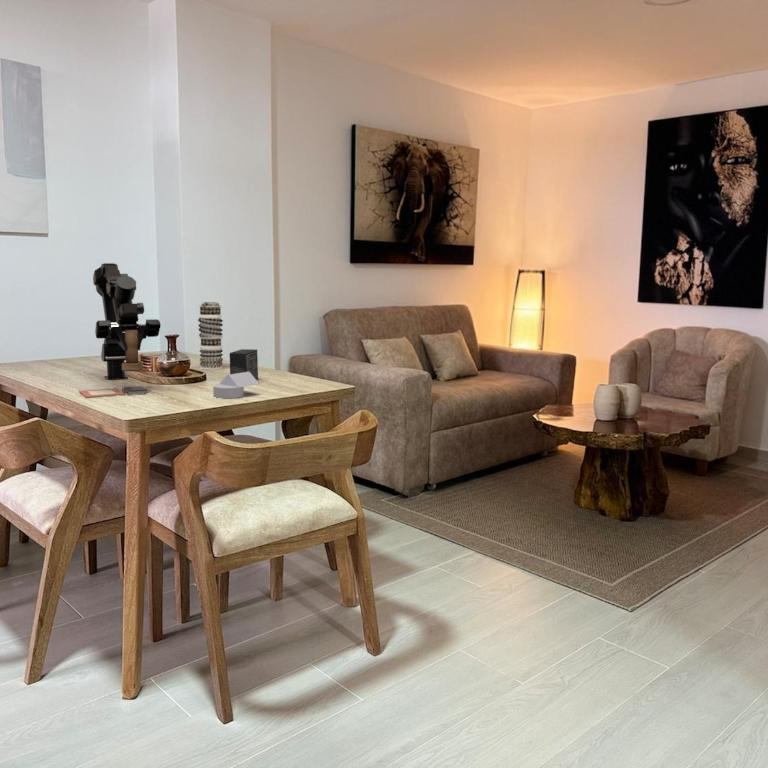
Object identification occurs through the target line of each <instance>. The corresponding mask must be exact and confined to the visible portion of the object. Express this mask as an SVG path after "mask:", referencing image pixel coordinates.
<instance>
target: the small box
mask: <svg viewBox="0 0 768 768" xmlns="http://www.w3.org/2000/svg"><path fill="white" fill-rule="evenodd" d="M258 358H259V357H258V349H253V348H251V349H246V348H245V349H244V348H243V349H242V348H241V349H238V350H235V351H232V352H229V375H230V374H236V373H243V372H250V373H251V374H252V375H253V377H254V378H255V379H256V380H258V379H259V369H258V368H259V366H258V365H259V364H258V363H259V361H258V360H259V359H258Z"/></svg>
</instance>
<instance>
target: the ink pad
mask: <svg viewBox="0 0 768 768" xmlns="http://www.w3.org/2000/svg"><path fill="white" fill-rule="evenodd" d="M123 391H124V392H123ZM122 392H123V393H124V394H126V393H127V395H128V396H133V395H132V394H139V395H145V394H144V393H149V394H150V390H148V389H147V388H146V387H144V386H142V385H138V386H137V385H136V386H135V385H134V386H124V387H122Z"/></svg>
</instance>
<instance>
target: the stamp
mask: <svg viewBox="0 0 768 768" xmlns="http://www.w3.org/2000/svg"><path fill="white" fill-rule="evenodd" d="M124 333H125V343H126V348H127V350H126V360H125V361H124V363H122V371H125V372H139V371H141V370H143V369H144V361H143V360H142V361H139V350H138V336H137V330H125V332H124Z"/></svg>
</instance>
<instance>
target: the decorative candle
mask: <svg viewBox="0 0 768 768" xmlns="http://www.w3.org/2000/svg"><path fill="white" fill-rule="evenodd" d="M221 309H222V306H221V305H220V304H219V303H218V302H216V301H215V302H214V301H205V302H204V301H203V302H202V303H201V305H200V306H199V318H198V319H197V321H198V322H199V324H198V331H199V332H200V333H198V336H199V337H198V338H200V346H199V347H200V350H199V352H200V354H199V356H200V359H199V362H200V363H199V365H200V367H199V369H201V370H206V371H208V370H209V371H210V370H211V371H214V370H222V369H223V364H224V363H223V360H224V359H223V355H224V354H223V353H222V352H223V351H224V350H223V349H222V348H223V345H222V338H223V333H222V332H223V328H221V327H223V325H224V324H223V321H224V320H223V319H222V314H221Z"/></svg>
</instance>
